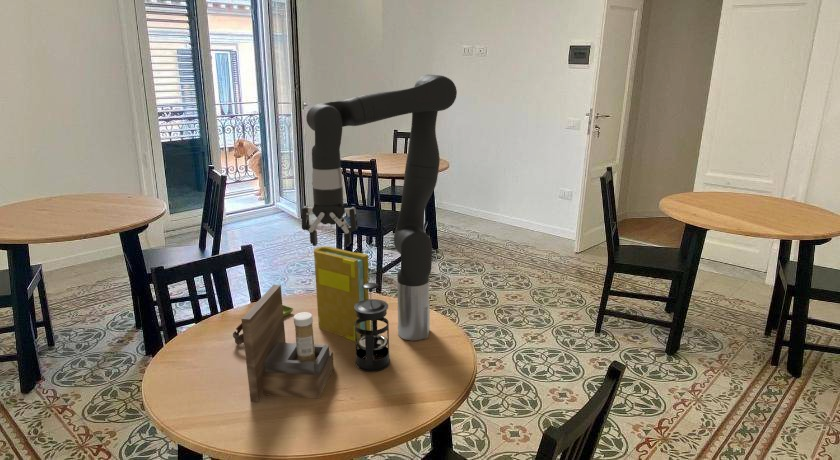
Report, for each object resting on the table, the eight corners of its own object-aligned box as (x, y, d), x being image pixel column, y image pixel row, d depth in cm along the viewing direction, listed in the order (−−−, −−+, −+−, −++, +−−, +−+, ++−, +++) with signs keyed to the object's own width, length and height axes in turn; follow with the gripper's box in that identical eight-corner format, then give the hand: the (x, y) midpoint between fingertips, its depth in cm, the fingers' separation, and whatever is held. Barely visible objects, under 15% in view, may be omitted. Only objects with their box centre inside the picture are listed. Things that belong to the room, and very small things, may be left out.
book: (370, 332, 163) (368, 254, 155) (356, 342, 157) (353, 261, 150) (328, 319, 171) (324, 244, 164) (313, 327, 166) (308, 251, 158)
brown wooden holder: (336, 361, 147) (332, 287, 140) (315, 405, 128) (309, 322, 121) (279, 358, 148) (273, 284, 142) (250, 401, 129) (241, 318, 123)
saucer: (294, 314, 176) (294, 308, 175) (274, 324, 169) (274, 318, 168) (275, 308, 180) (275, 302, 180) (255, 318, 173) (255, 312, 173)
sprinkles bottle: (317, 358, 139) (313, 311, 135) (313, 368, 134) (310, 319, 130) (299, 359, 139) (295, 311, 135) (295, 368, 134) (291, 319, 130)
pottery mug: (269, 352, 153) (251, 333, 149) (242, 362, 155) (224, 343, 152) (280, 323, 163) (263, 304, 159) (255, 333, 165) (238, 315, 162)
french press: (358, 352, 152) (355, 276, 145) (391, 352, 151) (390, 276, 144) (352, 375, 140) (348, 294, 134) (387, 376, 140) (386, 294, 133)
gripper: (358, 182, 139) (360, 241, 144) (304, 181, 141) (308, 240, 146) (351, 188, 132) (354, 251, 137) (295, 187, 134) (300, 249, 138)
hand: (330, 245), depth 141 cm, fingers open, 8 cm apart
